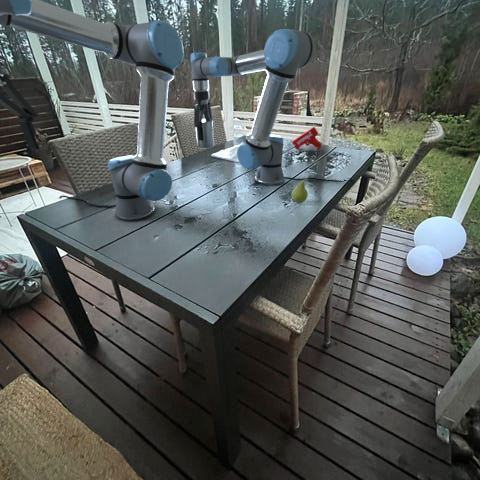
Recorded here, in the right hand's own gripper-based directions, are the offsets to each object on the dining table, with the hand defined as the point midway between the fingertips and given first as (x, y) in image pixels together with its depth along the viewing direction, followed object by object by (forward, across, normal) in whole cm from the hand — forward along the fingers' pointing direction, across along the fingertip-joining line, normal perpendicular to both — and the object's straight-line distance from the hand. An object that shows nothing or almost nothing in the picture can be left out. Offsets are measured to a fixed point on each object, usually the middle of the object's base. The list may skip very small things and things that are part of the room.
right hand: (205, 138), depth 145 cm
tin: (+4, 0, 0) cm, 4 cm away
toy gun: (+19, -73, +44) cm, 87 cm away
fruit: (+20, +21, +57) cm, 64 cm away
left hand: (-15, +94, -3) cm, 95 cm away
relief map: (+19, -39, +7) cm, 44 cm away
